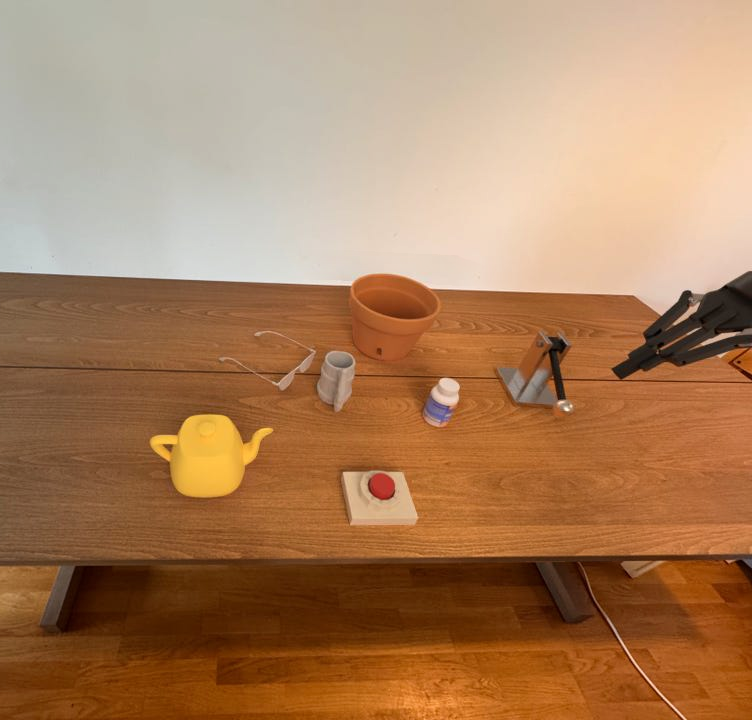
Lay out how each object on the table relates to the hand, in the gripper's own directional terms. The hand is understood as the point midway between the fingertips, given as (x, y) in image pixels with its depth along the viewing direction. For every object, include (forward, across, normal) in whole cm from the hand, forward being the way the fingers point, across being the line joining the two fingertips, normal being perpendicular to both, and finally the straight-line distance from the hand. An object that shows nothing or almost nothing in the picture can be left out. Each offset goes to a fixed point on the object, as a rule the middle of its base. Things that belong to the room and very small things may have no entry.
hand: (616, 374), depth 76 cm
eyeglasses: (+52, +29, +33) cm, 68 cm away
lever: (+9, +8, -6) cm, 14 cm away
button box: (+41, -10, +25) cm, 49 cm away
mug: (+43, +15, +24) cm, 52 cm away
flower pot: (+33, +33, +8) cm, 48 cm away
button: (+38, -10, +27) cm, 48 cm away
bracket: (+15, +13, -12) cm, 23 cm away
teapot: (+59, -1, +46) cm, 75 cm away
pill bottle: (+30, +7, +8) cm, 32 cm away
